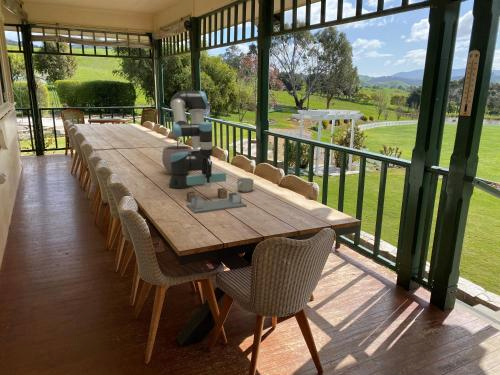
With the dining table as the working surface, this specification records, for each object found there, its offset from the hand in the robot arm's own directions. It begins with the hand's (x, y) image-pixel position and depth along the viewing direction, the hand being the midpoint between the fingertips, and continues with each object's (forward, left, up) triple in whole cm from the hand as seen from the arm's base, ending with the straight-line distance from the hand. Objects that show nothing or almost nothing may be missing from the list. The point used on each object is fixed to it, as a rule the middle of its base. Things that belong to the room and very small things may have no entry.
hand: (206, 186), depth 235 cm
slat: (0, 0, +3) cm, 3 cm away
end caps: (+16, 0, -8) cm, 18 cm away
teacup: (-7, +28, -8) cm, 30 cm away
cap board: (+16, 0, -8) cm, 18 cm away
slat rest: (0, 0, -8) cm, 8 cm away
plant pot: (-77, +4, -8) cm, 77 cm away
